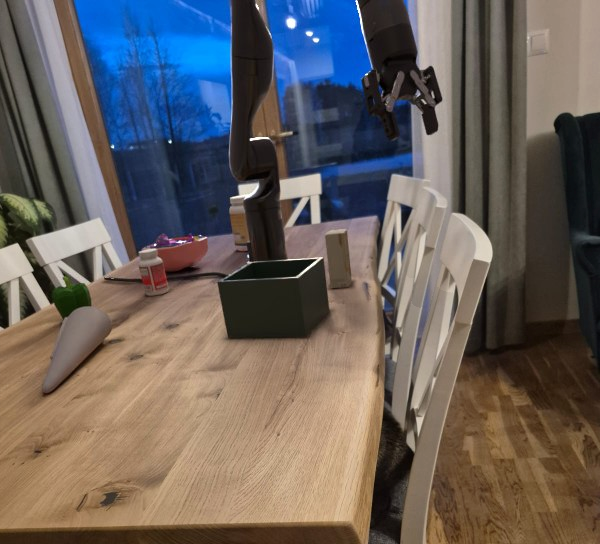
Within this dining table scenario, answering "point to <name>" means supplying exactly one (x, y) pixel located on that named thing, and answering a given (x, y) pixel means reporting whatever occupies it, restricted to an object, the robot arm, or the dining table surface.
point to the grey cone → (75, 343)
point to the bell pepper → (70, 297)
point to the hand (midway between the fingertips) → (413, 136)
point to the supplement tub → (239, 222)
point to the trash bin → (274, 298)
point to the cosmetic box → (338, 258)
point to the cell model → (180, 251)
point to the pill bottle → (152, 273)
